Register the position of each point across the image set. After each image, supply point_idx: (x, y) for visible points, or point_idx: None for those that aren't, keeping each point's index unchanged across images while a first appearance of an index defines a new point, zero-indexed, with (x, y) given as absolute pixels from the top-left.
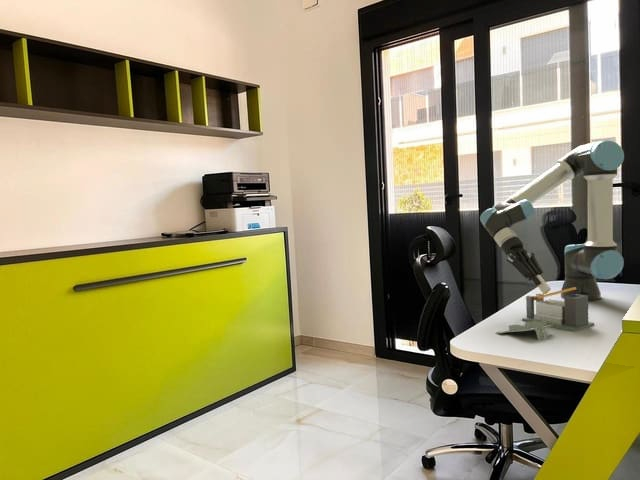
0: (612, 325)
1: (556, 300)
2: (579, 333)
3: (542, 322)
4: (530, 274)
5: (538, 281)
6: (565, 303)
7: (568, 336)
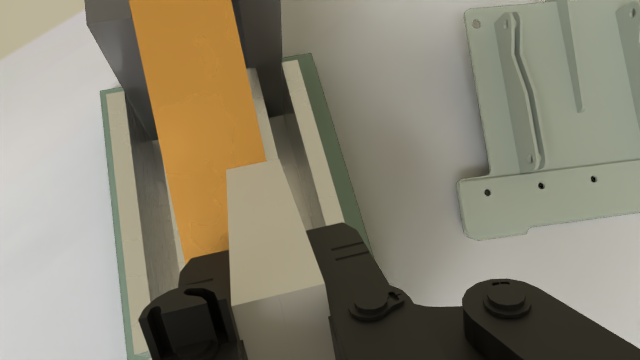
0: (27, 58)
1: (142, 260)
2: (305, 25)
3: (518, 29)
4: (502, 284)
5: (342, 241)
6: (278, 27)
7: (389, 13)
